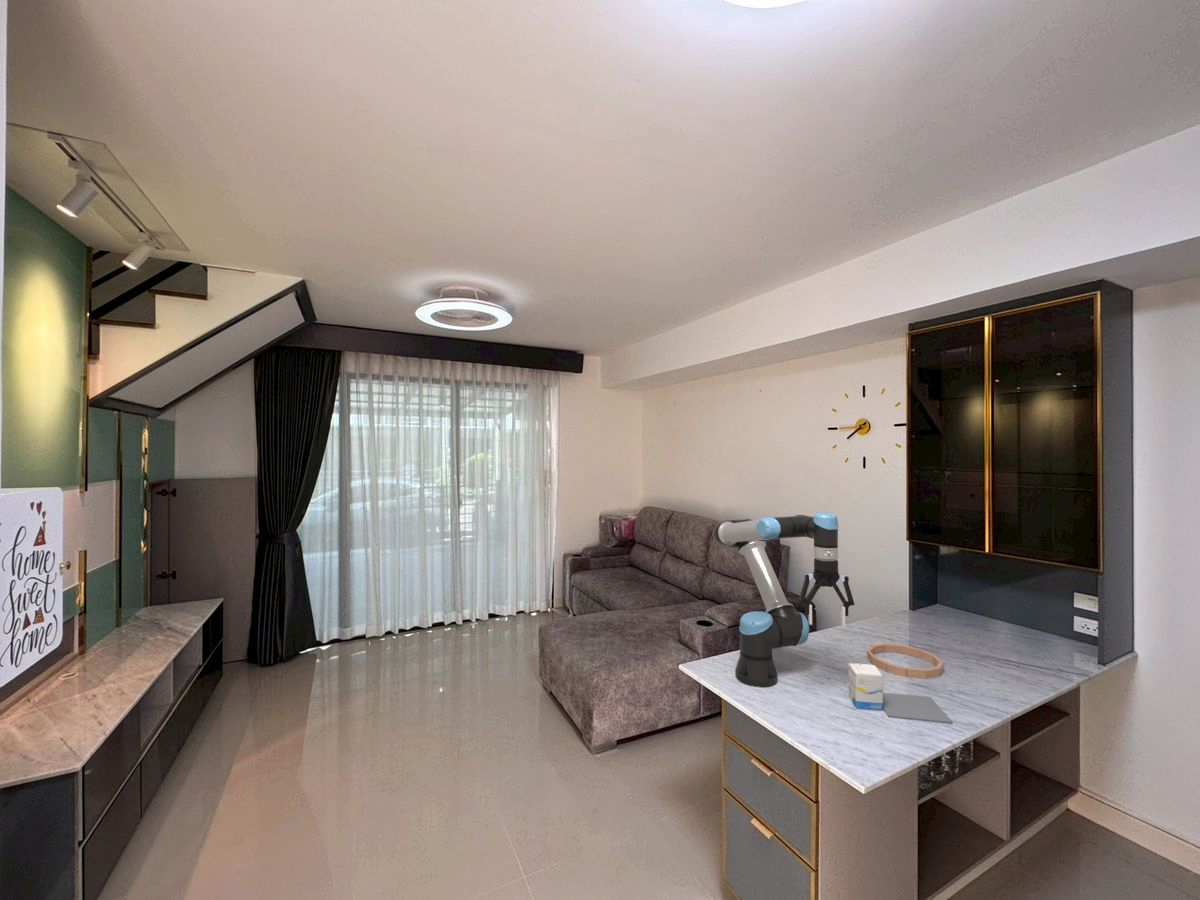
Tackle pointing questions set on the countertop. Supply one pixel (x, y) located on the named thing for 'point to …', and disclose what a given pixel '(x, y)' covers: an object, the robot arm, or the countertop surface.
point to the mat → (913, 708)
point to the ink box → (865, 686)
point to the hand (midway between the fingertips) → (826, 624)
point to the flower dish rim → (902, 670)
